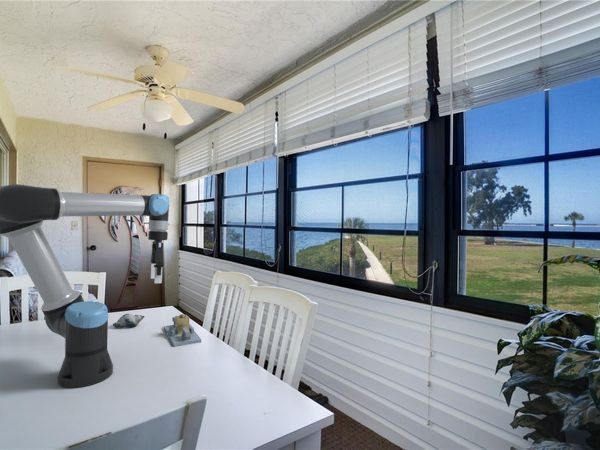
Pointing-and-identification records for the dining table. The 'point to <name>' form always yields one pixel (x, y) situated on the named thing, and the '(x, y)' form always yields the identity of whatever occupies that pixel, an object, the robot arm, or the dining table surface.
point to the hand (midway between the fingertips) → (155, 280)
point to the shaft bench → (181, 335)
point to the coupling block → (181, 323)
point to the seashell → (129, 320)
